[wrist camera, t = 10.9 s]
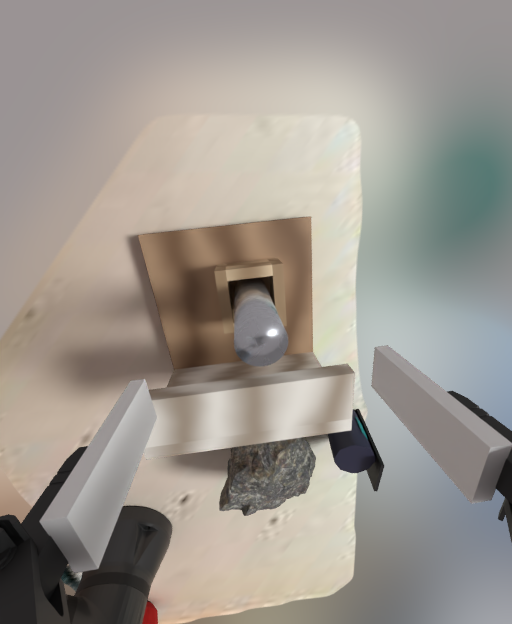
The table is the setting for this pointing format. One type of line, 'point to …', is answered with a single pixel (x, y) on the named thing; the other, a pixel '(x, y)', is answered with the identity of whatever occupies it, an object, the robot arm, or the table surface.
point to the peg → (257, 325)
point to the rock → (267, 475)
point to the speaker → (357, 450)
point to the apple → (150, 614)
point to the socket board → (220, 341)
